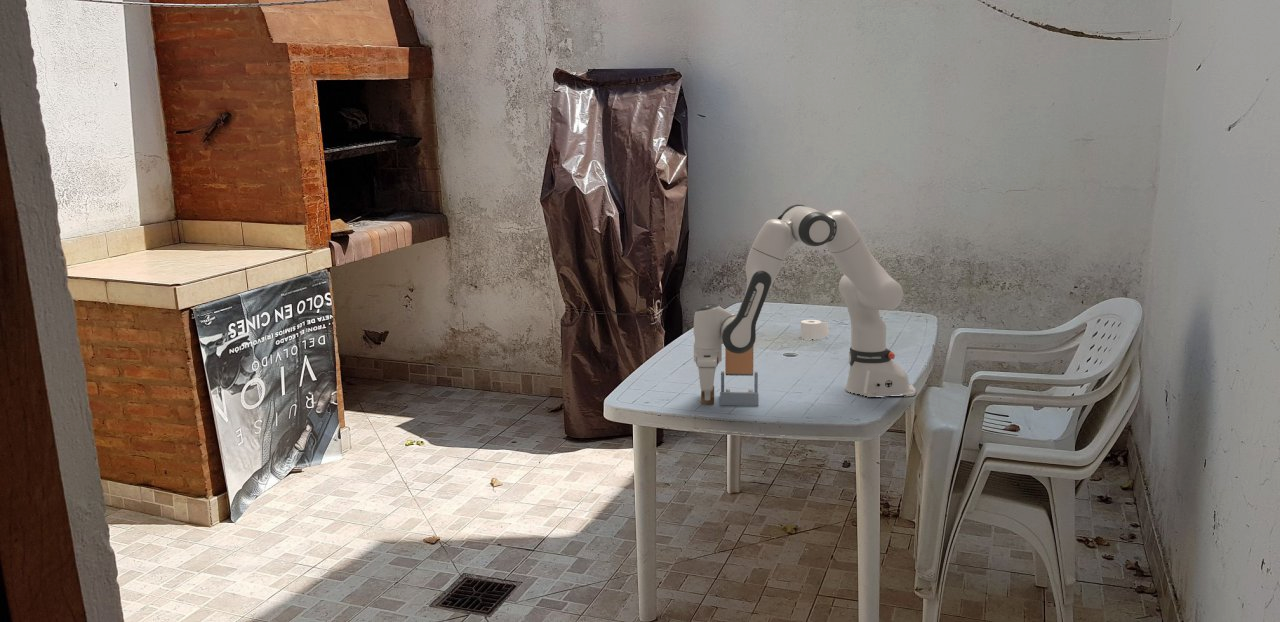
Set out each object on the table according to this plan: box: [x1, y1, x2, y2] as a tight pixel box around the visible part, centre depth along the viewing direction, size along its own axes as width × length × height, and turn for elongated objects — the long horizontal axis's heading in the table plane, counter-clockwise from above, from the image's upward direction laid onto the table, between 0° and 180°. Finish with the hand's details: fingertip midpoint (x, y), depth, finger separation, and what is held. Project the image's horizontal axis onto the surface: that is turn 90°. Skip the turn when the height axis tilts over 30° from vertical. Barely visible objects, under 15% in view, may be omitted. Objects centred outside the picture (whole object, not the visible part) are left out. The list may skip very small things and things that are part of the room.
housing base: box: [719, 370, 759, 407], centre depth 314 cm, size 12×11×8 cm
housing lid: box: [724, 346, 754, 377], centre depth 317 cm, size 9×12×1 cm
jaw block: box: [700, 385, 715, 405], centre depth 313 cm, size 4×4×5 cm
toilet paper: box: [800, 319, 830, 339], centre depth 400 cm, size 8×11×7 cm
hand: (707, 397), depth 313 cm, fingers closed on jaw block, 4 cm apart
